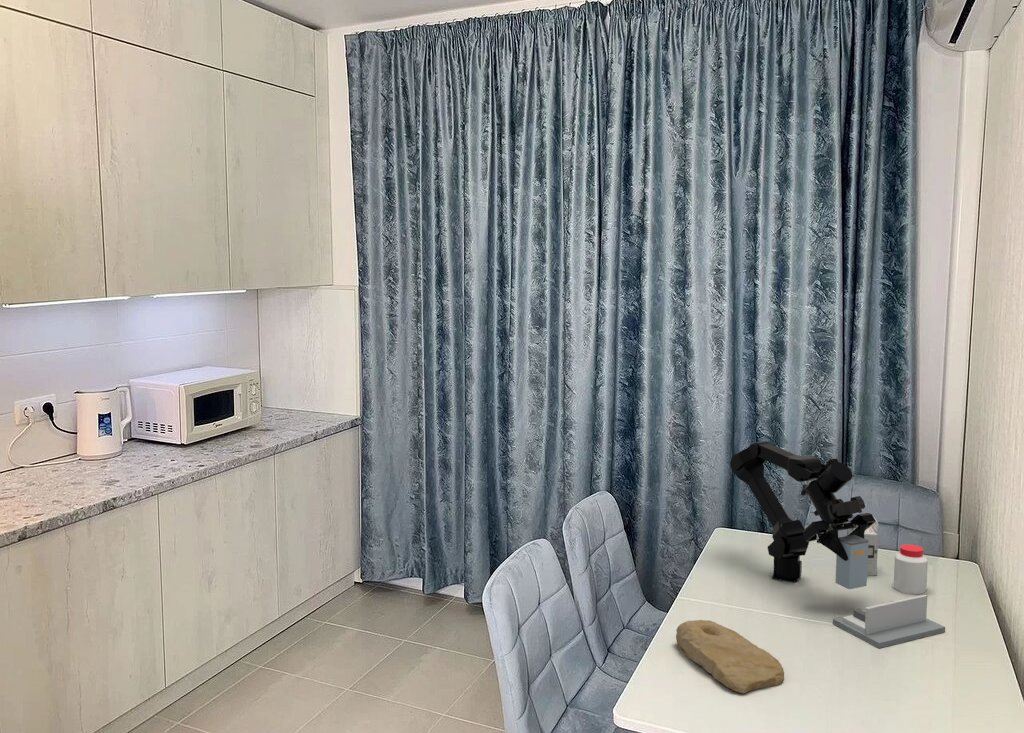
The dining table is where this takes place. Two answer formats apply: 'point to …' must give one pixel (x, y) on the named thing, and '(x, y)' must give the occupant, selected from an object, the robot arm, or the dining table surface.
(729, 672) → the stone
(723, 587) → the dining table surface
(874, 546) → the ink box
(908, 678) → the dining table surface
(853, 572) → the block
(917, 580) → the pill bottle
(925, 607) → the grey holder stand
